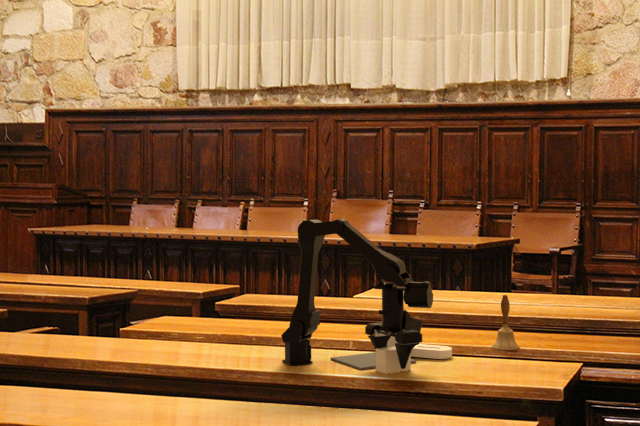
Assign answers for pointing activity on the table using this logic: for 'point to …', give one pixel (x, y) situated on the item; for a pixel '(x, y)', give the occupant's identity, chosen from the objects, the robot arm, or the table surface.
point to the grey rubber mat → (360, 360)
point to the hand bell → (505, 330)
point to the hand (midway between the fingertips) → (393, 365)
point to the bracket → (426, 350)
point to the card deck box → (389, 360)
